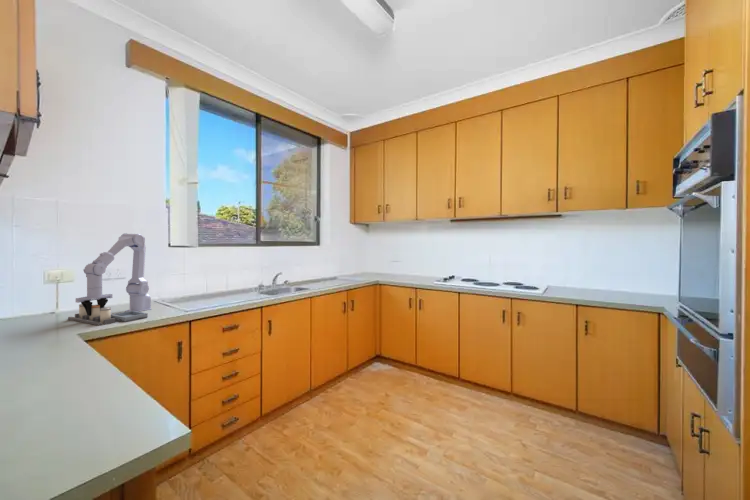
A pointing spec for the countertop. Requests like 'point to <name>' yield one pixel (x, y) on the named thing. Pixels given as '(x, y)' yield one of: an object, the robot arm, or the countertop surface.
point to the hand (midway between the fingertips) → (94, 314)
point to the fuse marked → (95, 312)
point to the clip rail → (95, 320)
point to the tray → (130, 316)
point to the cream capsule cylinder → (82, 311)
